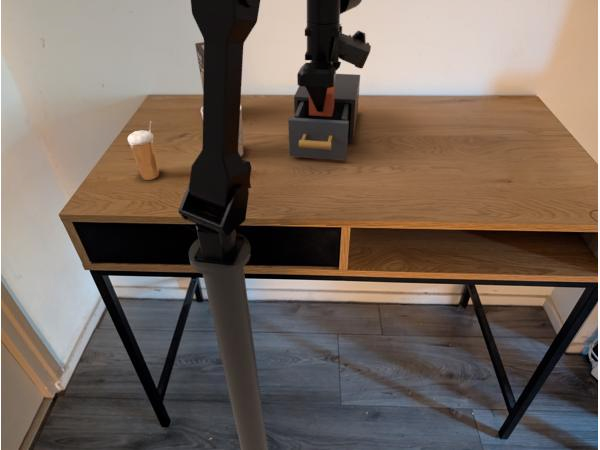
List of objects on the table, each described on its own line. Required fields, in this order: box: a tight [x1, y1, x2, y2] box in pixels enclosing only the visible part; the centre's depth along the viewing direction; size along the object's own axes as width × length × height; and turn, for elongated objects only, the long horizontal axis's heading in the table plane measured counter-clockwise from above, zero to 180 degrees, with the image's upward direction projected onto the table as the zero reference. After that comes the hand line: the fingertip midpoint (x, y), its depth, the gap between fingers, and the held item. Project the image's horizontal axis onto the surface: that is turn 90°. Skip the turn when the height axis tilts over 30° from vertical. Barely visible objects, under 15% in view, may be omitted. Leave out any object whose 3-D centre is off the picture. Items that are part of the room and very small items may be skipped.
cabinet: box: [293, 73, 361, 144], centre depth 96 cm, size 15×13×10 cm
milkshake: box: [127, 121, 160, 181], centre depth 81 cm, size 5×5×10 cm
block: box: [309, 86, 335, 117], centre depth 84 cm, size 4×4×4 cm
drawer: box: [287, 101, 350, 161], centre depth 87 cm, size 18×11×8 cm, turn 170°
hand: (321, 106), depth 84 cm, fingers closed on block, 4 cm apart
